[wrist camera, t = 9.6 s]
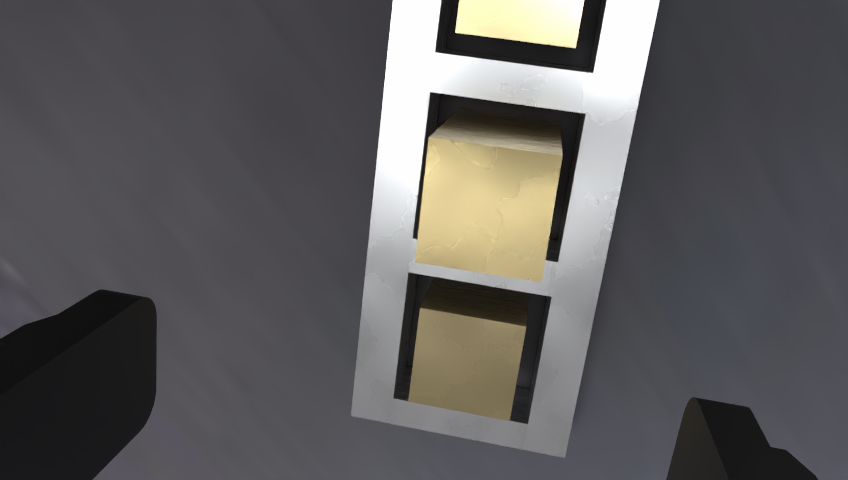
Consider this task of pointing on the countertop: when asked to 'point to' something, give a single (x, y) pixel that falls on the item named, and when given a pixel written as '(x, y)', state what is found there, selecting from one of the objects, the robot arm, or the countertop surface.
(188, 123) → the countertop surface
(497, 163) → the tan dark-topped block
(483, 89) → the white slotted tray
